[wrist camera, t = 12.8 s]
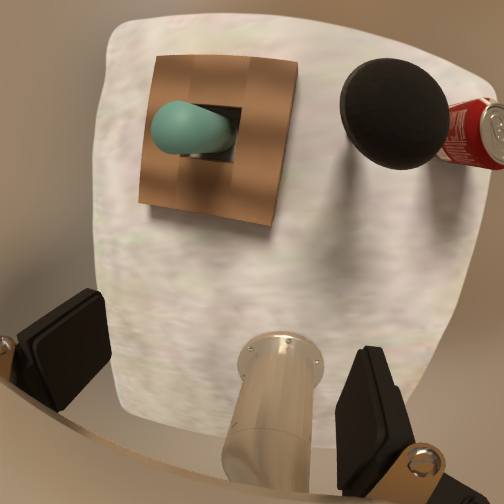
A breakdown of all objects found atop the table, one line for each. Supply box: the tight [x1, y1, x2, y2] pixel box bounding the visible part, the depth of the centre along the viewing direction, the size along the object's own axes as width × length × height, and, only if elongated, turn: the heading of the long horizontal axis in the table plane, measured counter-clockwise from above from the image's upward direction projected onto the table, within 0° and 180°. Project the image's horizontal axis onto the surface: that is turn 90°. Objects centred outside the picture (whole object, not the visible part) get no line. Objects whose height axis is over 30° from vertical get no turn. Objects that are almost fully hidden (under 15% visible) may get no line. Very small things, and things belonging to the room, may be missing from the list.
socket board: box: [138, 55, 298, 226], centre depth 31 cm, size 18×16×3 cm
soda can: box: [436, 98, 504, 170], centre depth 22 cm, size 7×7×12 cm
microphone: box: [340, 58, 450, 170], centre depth 20 cm, size 7×7×20 cm
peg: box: [151, 101, 236, 155], centre depth 27 cm, size 4×4×12 cm
